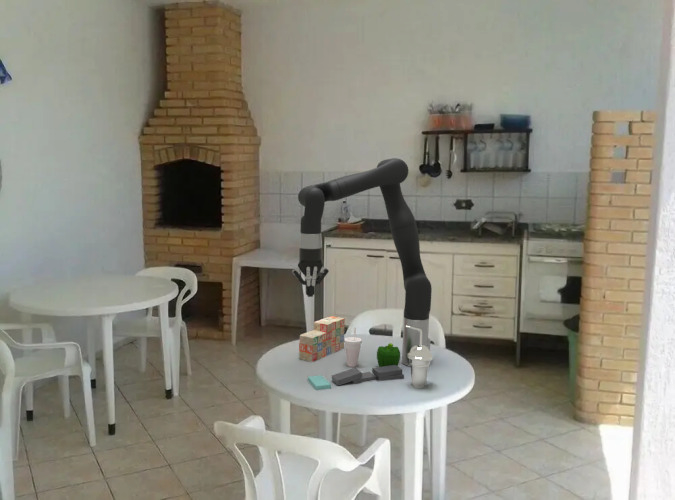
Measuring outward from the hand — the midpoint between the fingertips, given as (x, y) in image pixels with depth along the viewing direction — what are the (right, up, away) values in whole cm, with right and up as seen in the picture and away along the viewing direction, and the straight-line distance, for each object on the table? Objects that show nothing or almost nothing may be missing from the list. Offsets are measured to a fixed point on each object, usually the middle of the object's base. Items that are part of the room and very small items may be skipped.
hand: (309, 296), depth 219 cm
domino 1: (+5, -29, -12) cm, 32 cm away
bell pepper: (+27, -27, +9) cm, 39 cm away
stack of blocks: (+4, -24, +25) cm, 35 cm away
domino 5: (+23, -28, -1) cm, 36 cm away
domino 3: (+13, -28, -4) cm, 31 cm away
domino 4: (+22, -26, -1) cm, 34 cm away
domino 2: (+9, -27, -7) cm, 30 cm away
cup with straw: (+36, -29, -6) cm, 47 cm away
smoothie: (+15, -26, +12) cm, 32 cm away
